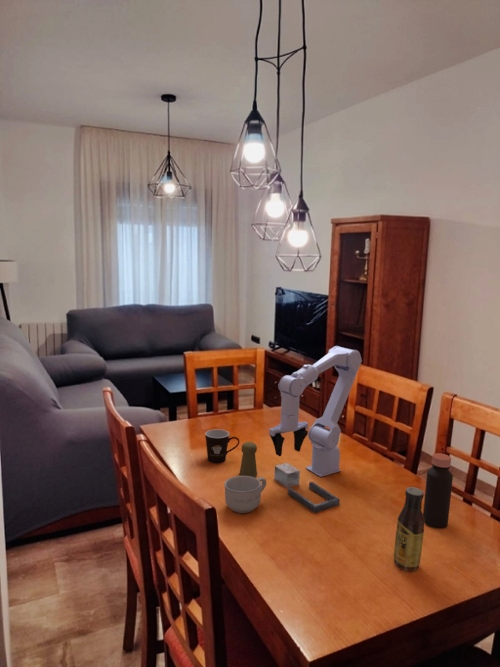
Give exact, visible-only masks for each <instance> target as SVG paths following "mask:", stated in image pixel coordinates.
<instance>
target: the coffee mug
mask: <svg viewBox="0 0 500 667" xmlns="http://www.w3.org/2000/svg"><path fill="white" fill-rule="evenodd" d="M204 435H205V436H204V437H205V445H206V456H207V461H208V462H209V463H210V464H217V465H218V464H223V463H225V462H226V460H227V459H226V458H227V454H228V453H230V452H231V451H233V450H235V449H236V448H237V447H238V446H239V444H240V439H239V438H238V437H236V436H231V437H230V432H229V431H227V430H225V429H219V428H218V429H210V430H207V431H205V434H204ZM233 439H234V440H235V439H236V440H237V443H236V445H235V446H234V447H232V448H230V449H229V450H228V445H229V443H230V441H231V440H233Z"/></svg>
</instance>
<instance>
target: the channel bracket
mask: <svg viewBox="0 0 500 667" xmlns="http://www.w3.org/2000/svg"><path fill="white" fill-rule="evenodd" d="M308 489H309V490H312V491H313V492H315V493H316V494H317V495H319V496H320V497H322V498H324V499H325V500H326V501H323V502H320V503H316V504H315V503H314V502H313V501H311V500H309V499H308V498H306V497H305V496H304V495H303V494H301V493H299V492H297V491H296V490H295V489H293V487H290V488H287V495H288V496H289V497H291V498H292V499H293V500H295V501H297V502H298V503H299V504H301V505H302V506H304V507H305V508H306V509H308V510H309V511H310V512H312V513H313V514H318V513H320V512H324V511H326V510H328V509H332V508H335V507H337V506H340V500H341V499H340V498H338V497H337V496H336V495H334V494H332V493H331V492H329V491H327V490H326V489H325V488H322V487H321V486H320V485H318V484H317V483H315V482H313V481H309V485H308Z"/></svg>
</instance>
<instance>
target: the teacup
mask: <svg viewBox="0 0 500 667" xmlns="http://www.w3.org/2000/svg"><path fill="white" fill-rule="evenodd" d="M223 485H224V498H225V504H226V506H228V508H229V509H230V510H231V511H233V512H235V513H238V514H246V513H250V512H253V511H254V510H255V509H256V508H258V507H259V505H260V502H261V499H262V498H261V497H262V496H261V494H262V492H263V491H264V489H265V488H266V487H267V486H266V485H267V481H266V478H264V477H262V476H259V477H257V478H256V477H250V476H240V475H237V476H232V477H229V478H228V479H226V480H225V481H224V483H223Z"/></svg>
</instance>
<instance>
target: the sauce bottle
mask: <svg viewBox="0 0 500 667" xmlns="http://www.w3.org/2000/svg"><path fill="white" fill-rule="evenodd" d="M404 494H405V501H404V505H403V508H402V509H401V511H400V513H399V515H398V517H397V521H396V532H395V538H394V549H393V563H394V565H395V566H396V567H397V568H398V569H400V571H404V572H409V573H410V572H415V571H418V570H419V568H420V563H421V559H422V558H421V556H422V549H423V542H424V533H425V519H424V515H423V510H422V504H423V503H422V502H423V499H424V496H425V492H424V491H423V490H422V489H421V488H420V487H419V488H417V487H416V486H415V487H414V486H413V487H412V486H408V487H406V489H405V493H404Z"/></svg>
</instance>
